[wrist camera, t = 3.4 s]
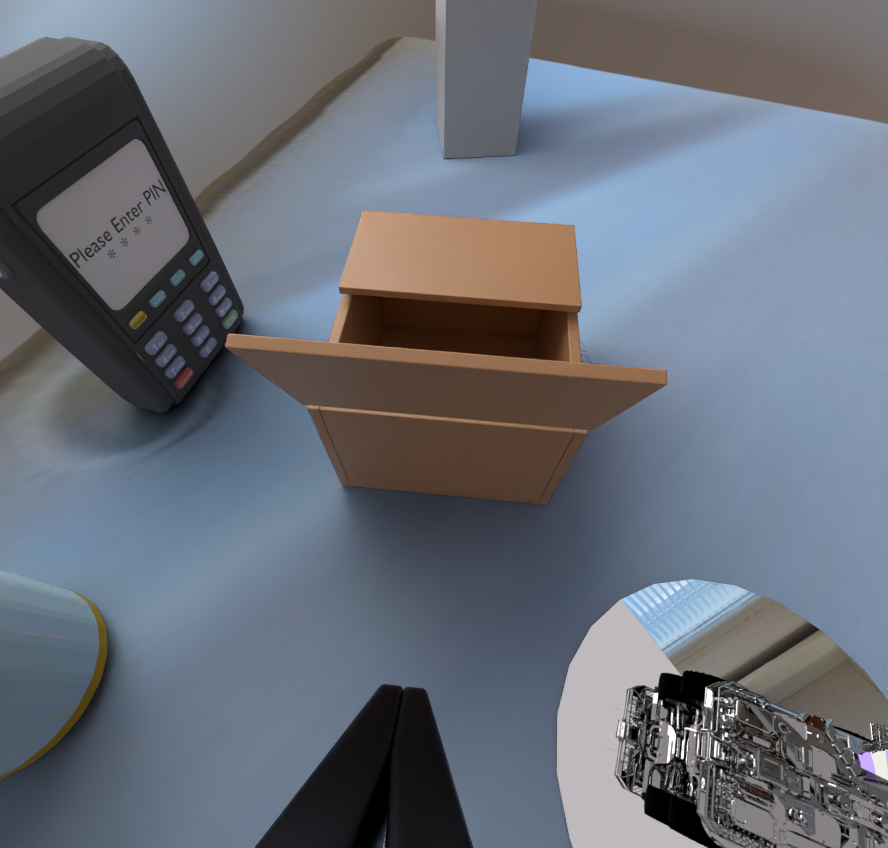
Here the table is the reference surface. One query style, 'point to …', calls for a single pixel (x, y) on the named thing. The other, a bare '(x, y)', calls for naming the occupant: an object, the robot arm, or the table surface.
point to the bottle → (44, 666)
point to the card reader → (105, 225)
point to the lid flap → (447, 382)
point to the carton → (456, 349)
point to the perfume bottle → (481, 74)
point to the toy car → (719, 728)
